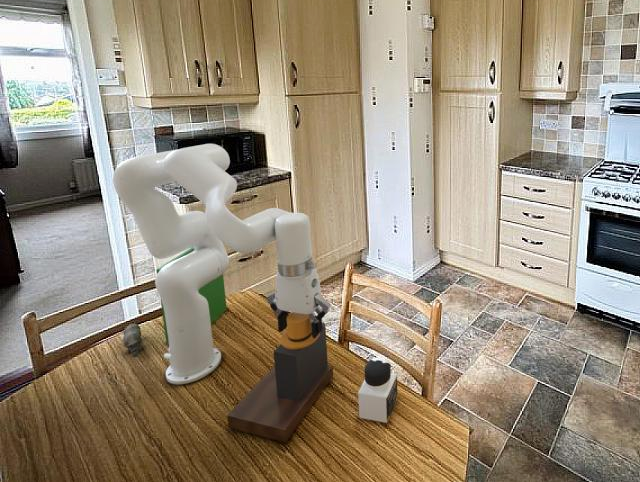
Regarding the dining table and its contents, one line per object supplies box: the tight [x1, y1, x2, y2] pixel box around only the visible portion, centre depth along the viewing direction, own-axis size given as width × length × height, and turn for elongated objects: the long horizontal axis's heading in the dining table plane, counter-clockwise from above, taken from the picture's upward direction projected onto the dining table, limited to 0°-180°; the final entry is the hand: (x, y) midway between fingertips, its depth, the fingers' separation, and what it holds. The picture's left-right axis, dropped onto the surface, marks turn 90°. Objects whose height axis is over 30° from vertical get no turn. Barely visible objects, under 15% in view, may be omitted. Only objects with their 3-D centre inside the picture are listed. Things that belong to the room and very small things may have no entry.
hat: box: [280, 312, 320, 349], centre depth 91 cm, size 9×9×6 cm
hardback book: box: [156, 247, 228, 345], centre depth 118 cm, size 18×7×24 cm, turn 179°
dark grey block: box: [273, 320, 329, 401], centre depth 92 cm, size 6×12×12 cm, turn 166°
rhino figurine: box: [122, 323, 143, 358], centre depth 108 cm, size 4×14×6 cm, turn 42°
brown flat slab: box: [226, 364, 334, 444], centre depth 91 cm, size 15×19×4 cm
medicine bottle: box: [357, 356, 399, 424], centre depth 89 cm, size 7×7×12 cm
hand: (300, 331), depth 91 cm, fingers open, 8 cm apart
